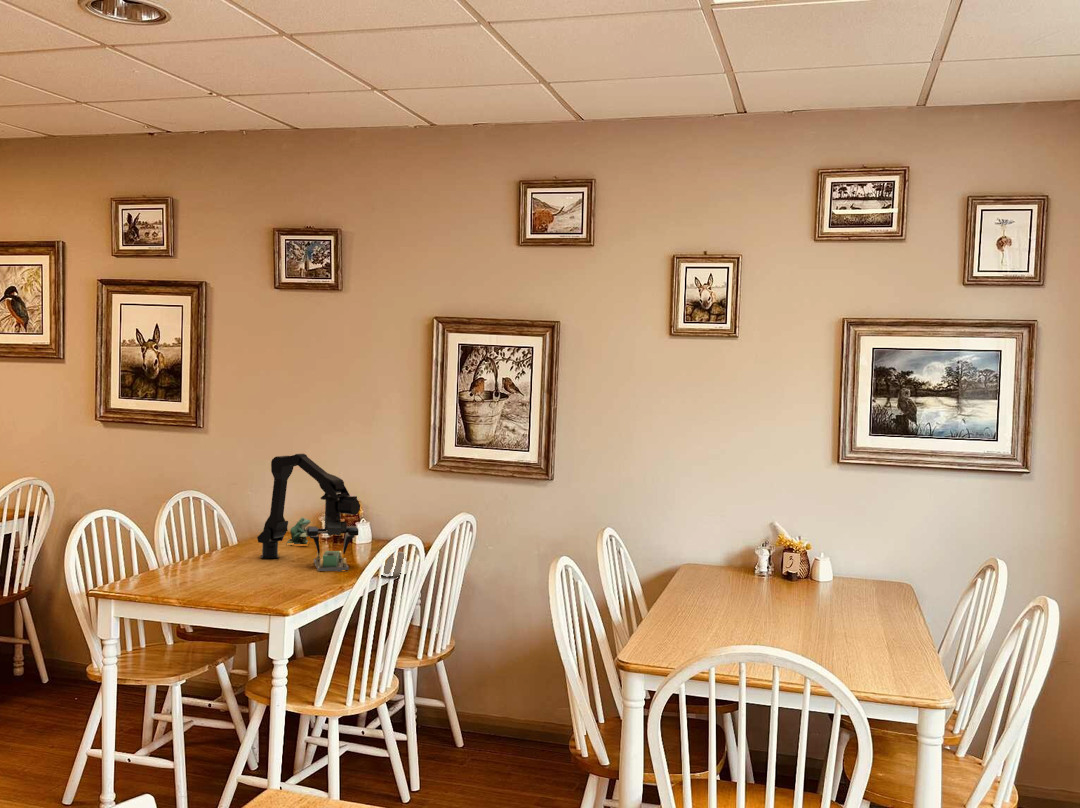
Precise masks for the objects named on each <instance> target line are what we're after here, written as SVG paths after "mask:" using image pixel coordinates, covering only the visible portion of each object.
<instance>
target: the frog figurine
mask: <svg viewBox="0 0 1080 808" xmlns="http://www.w3.org/2000/svg"><path fill="white" fill-rule="evenodd" d="M310 523H311V520H310V519H307V518H305V517H303V516H302V517H301V518H300V519H299V520H298V521H297V522H296V523H295V525H294V526H292V527H291V528H290V529H289V531H290V535H291V536H290V538H289V539H288V540H287V542H286V544H287V543H294V544H307V542H308V541H309V540H308V538H307V537H309V536H307V535H306V528H307V527H308V525H310Z"/></svg>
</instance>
